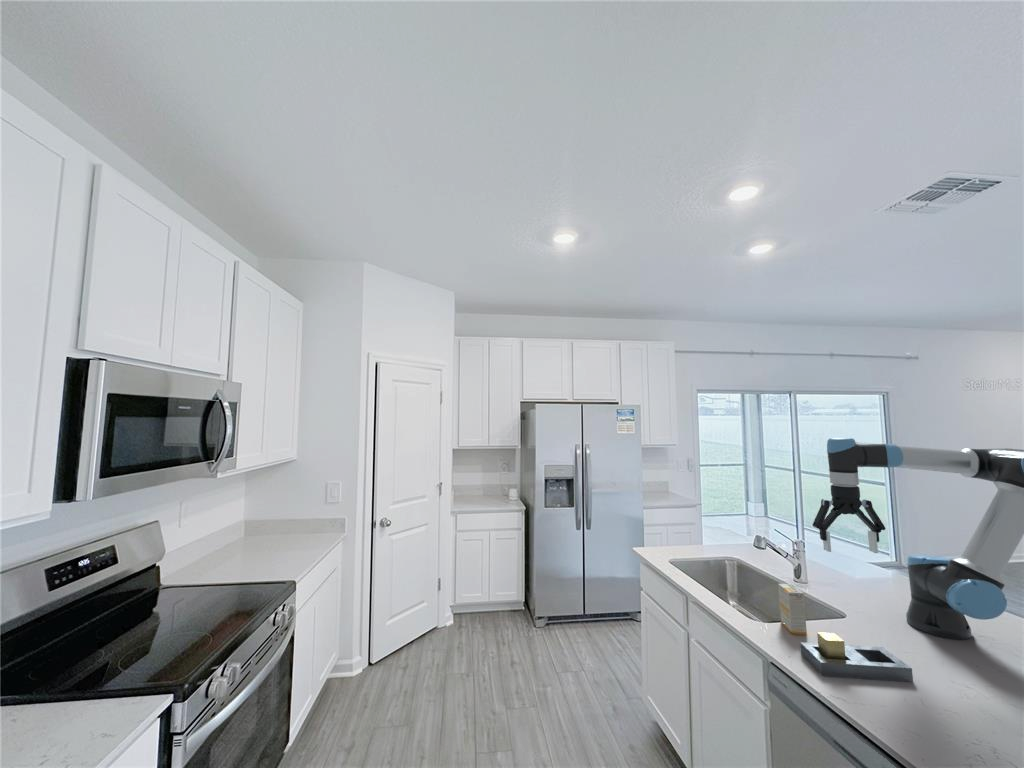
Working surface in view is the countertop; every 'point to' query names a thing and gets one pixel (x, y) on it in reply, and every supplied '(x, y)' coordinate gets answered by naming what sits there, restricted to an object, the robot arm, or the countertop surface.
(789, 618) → the supplement box
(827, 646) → the brass block
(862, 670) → the grey flat slotted block
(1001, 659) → the countertop surface
